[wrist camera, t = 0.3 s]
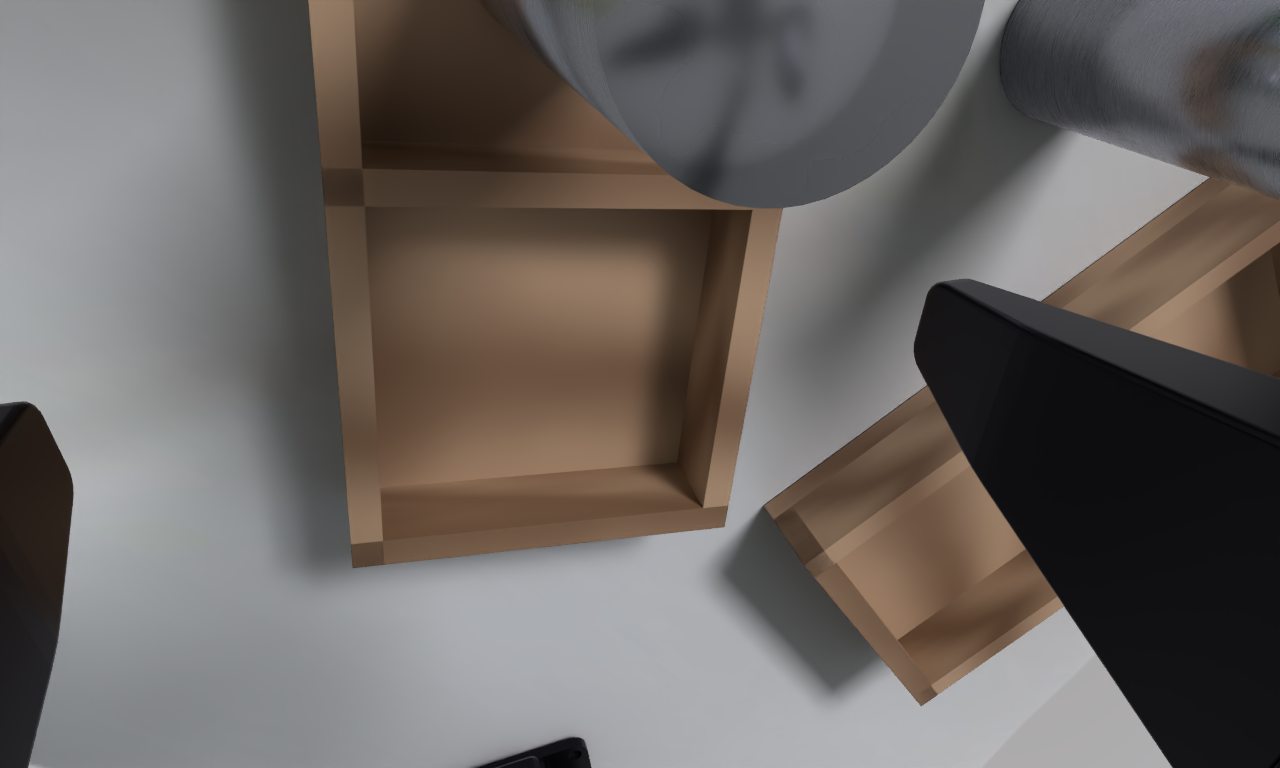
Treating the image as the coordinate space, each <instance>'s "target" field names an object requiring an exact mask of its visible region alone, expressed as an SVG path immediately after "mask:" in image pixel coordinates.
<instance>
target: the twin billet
mask: <svg viewBox="0 0 1280 768" xmlns="http://www.w3.org/2000/svg"><path fill="white" fill-rule="evenodd" d="M480 2H481V3H482V5H483V6H484V7H485V9H486V10H487V11H488V13H489V14H490V15H491V16H492V17H493V18H494V19H495V21H497V22H498V23H499V24H500V25H501V26H502V27H503V28H505V29H506V30H507V31H508V32H509V33H510V34H511V35H512V36H514V37H515V38H516V39H517V40H518V41H519V42H520V43H521V44H523V45H524V46H525V47H526V48H527V49H528V50H529V51H530V52H532V53H533V54H534V55H535V56H536V57H537V58H538V59H540V60H541V61H542V62H543V63H544V64H545V65H546V66H547V67H549V68H550V69H551V70H552V71H553V72H554V73H555V74H556V75H558V76H559V77H560V78H561V79H562V80H563V81H564V82H566V83H567V84H568V85H569V86H570V87H571V88H572V89H573V90H575V91H576V92H577V93H578V94H579V95H580V96H581V97H582V98H584V99H585V100H586V101H587V102H588V103H589V104H590V105H591V106H593V107H594V108H595V109H596V110H597V111H598V112H599V113H601V114H602V115H603V116H604V117H605V118H606V119H607V120H608V121H610V122H611V123H612V124H613V125H614V126H615V127H616V128H617V129H619V130H620V131H621V132H622V133H623V134H624V135H625V136H627V137H628V138H629V139H630V140H631V141H632V142H633V143H634V144H636V145H637V146H638V147H639V148H640V149H641V150H642V151H643V152H645V153H646V154H647V155H648V156H649V157H650V158H651V159H652V160H654V161H655V162H656V163H657V164H658V165H659V166H660V167H662V168H663V169H664V170H665V171H666V172H667V173H668V174H669V175H671V176H672V177H673V178H675V179H676V180H678V181H679V182H681V183H683V184H684V185H686V186H687V187H689V188H690V189H692V190H694V191H696V192H698V193H701V194H703V195H705V196H707V197H709V198H712V199H714V200H718V201H721V202H725V203H728V204H732V205H736V206H743V207H750V208H785V207H792V206H799V205H804V204H808V203H812V202H815V201H819V200H822V199H826V198H828V197H830V196H833V195H835V194H838V193H840V192H842V191H845V190H847V189H849V188H851V187H852V186H854V185H856V184H858V183H860V182H861V181H863V180H865V179H867V178H868V177H870V176H871V175H873V174H874V173H875V172H877V171H878V170H879V169H881V168H882V167H884V166H885V165H886V164H888V163H889V162H890V161H891V160H892V159H894V158H895V157H896V156H897V155H898V154H899V153H900V152H901V151H902V150H903V149H905V148H906V147H907V146H908V145H909V144H910V143H911V142H912V140H913V139H914V138H915V137H916V136H917V135H918V134H919V133H920V132H921V130H922V129H923V128H924V127H925V126H926V125H927V123H928V122H929V121H930V119H931V118H932V117H933V115H934V114H935V113H936V111H937V110H938V108H939V107H940V106H941V104H942V103H943V101H944V99H945V98H946V96H947V94H948V93H949V91H950V89H951V88H952V86H953V84H954V83H955V81H956V79H957V77H958V75H959V73H960V71H961V69H962V66H963V64H964V62H965V60H966V58H967V56H968V54H969V51H970V48H971V45H972V42H973V40H974V37H975V34H976V31H977V29H978V25H979V21H980V17H981V13H982V9H983V6H984V2H985V0H480Z"/></svg>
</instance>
